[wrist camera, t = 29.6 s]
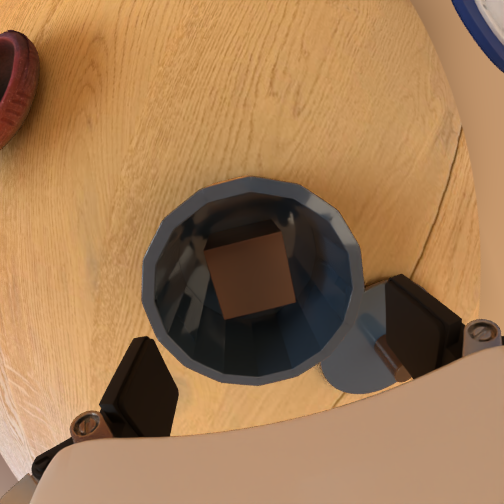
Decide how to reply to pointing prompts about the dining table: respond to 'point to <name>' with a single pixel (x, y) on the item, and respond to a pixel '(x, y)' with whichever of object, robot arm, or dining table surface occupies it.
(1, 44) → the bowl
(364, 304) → the lid
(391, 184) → the dining table surface
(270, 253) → the block
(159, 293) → the canister
